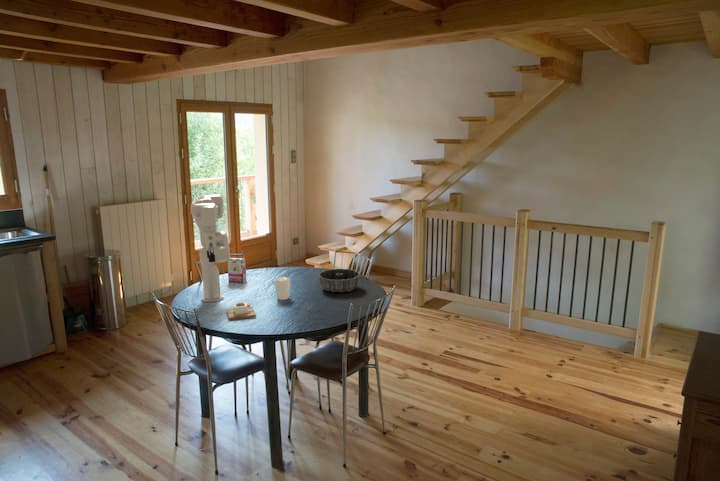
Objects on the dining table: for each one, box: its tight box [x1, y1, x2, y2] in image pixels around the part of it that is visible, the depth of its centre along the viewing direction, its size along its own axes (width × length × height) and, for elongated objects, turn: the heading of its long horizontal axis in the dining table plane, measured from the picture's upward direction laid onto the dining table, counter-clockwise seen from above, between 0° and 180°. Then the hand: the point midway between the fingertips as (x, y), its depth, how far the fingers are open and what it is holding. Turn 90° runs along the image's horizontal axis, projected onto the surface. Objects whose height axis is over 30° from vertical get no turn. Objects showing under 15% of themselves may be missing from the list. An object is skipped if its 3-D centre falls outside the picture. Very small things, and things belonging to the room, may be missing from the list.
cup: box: [274, 276, 291, 301], centre depth 297 cm, size 9×9×12 cm
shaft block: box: [226, 301, 257, 321], centre depth 269 cm, size 14×14×6 cm
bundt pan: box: [317, 268, 361, 293], centre depth 315 cm, size 26×26×10 cm
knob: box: [233, 302, 251, 315], centre depth 270 cm, size 8×6×4 cm
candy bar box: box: [227, 257, 247, 284], centre depth 332 cm, size 11×5×16 cm, turn 73°
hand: (211, 259), depth 271 cm, fingers open, 9 cm apart
